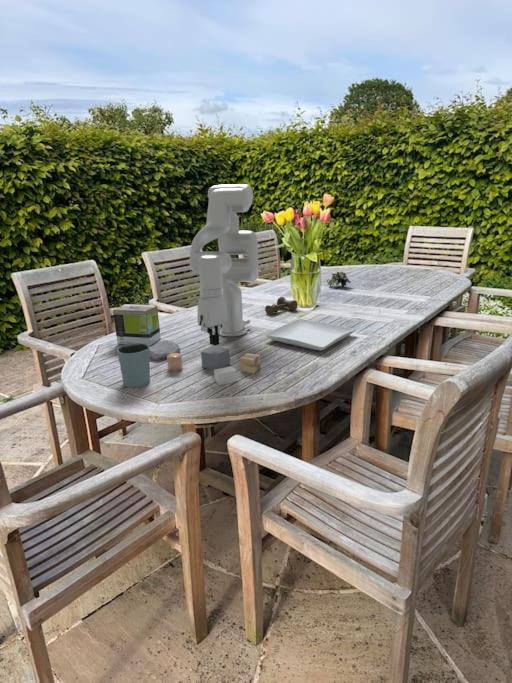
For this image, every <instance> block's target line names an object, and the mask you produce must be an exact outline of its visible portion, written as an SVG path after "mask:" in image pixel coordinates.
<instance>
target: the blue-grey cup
mask: <svg viewBox="0 0 512 683" xmlns="http://www.w3.org/2000/svg"><path fill="white" fill-rule="evenodd" d="M150 347H151V346H149V345H147V344H143V343H132V344H122V345H120V346H119V347H118V348H116V354H117V358H118V362H119V365H120V366H119V367H120V373H121V377H122V383H123V385H124V387H126V388H132V389H134V388H141V387H145V386H147V385H149V383H150V381H151V376H150V375H151V372H150V364H151V363H150V359H151V358H150V357H149V354H150Z"/></svg>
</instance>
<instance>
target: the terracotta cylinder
mask: <svg viewBox="0 0 512 683" xmlns="http://www.w3.org/2000/svg"><path fill="white" fill-rule="evenodd" d="M182 356H183V355H182V353H172V354H169V355H167V358H166V361H167V370H168V371H169V372H172V373H173V372H175V373H176V372H180V371H182V370H183V369H184V368H183V357H182Z"/></svg>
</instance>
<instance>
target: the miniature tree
mask: <svg viewBox="0 0 512 683" xmlns="http://www.w3.org/2000/svg"><path fill="white" fill-rule="evenodd" d="M326 282H327V286H328V285H329V287H331V286H334V285H335V289H337V287H338V286H339V285H340V284H341V286H342V287H345V286H347V283H348V284H351V282H352V281H351V280H349V278H348V275H347V274H346V272H344V271H336V272H335V273H333V272H331V279H329V278H328V279H327V280H326Z"/></svg>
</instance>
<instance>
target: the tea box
mask: <svg viewBox="0 0 512 683" xmlns="http://www.w3.org/2000/svg"><path fill="white" fill-rule="evenodd" d="M112 313H113V322H114V328H115V335H116V342H117V345H126V344H132V343H143V344H147V345H149V347H151V346H153V345H155V344H156V343H158V342H159V341H161V329H160V321H159V320H160V319H159V310H158V305H157V304H134V303H133V304H131V303H129V304H128V303H124V304H122V305H120V306H118V307H116V308H114V309H113V310H112Z"/></svg>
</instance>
